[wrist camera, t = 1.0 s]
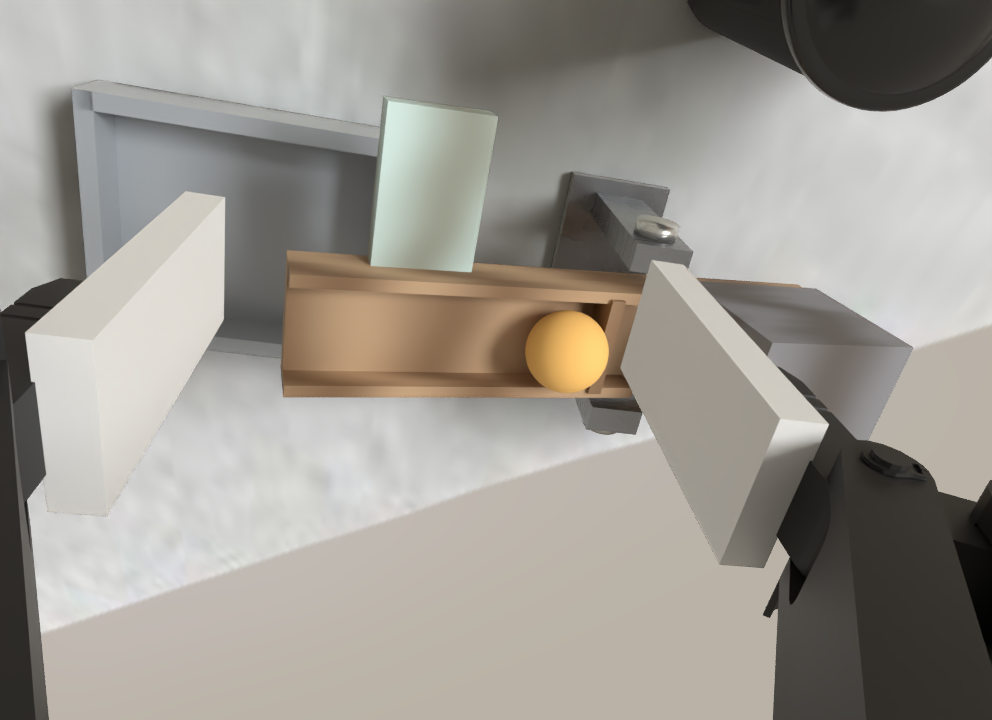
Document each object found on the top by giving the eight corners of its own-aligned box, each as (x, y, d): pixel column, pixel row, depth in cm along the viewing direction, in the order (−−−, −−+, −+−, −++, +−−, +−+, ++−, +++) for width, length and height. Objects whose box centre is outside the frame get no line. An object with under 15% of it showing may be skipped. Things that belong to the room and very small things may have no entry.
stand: (531, 354, 41) (555, 439, 33) (572, 171, 36) (611, 221, 29) (615, 364, 42) (657, 449, 34) (666, 187, 37) (728, 239, 30)
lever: (280, 372, 30) (289, 481, 24) (294, 82, 24) (310, 127, 19) (760, 378, 38) (858, 460, 32) (845, 161, 33) (980, 210, 27)
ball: (505, 368, 31) (538, 411, 28) (521, 296, 29) (557, 333, 27) (574, 366, 32) (612, 406, 30) (592, 297, 31) (634, 332, 28)
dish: (113, 313, 38) (91, 336, 35) (98, 79, 33) (71, 87, 30) (375, 344, 40) (372, 369, 37) (400, 130, 35) (398, 141, 32)
